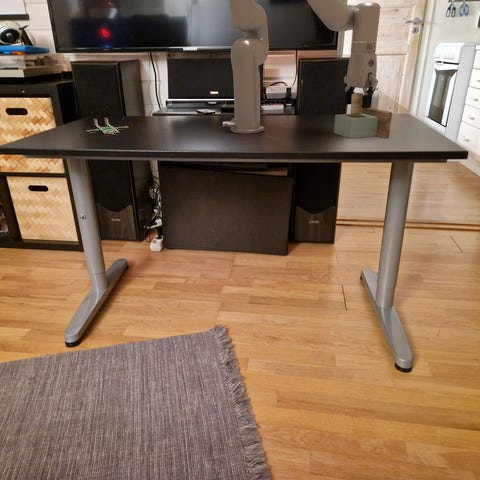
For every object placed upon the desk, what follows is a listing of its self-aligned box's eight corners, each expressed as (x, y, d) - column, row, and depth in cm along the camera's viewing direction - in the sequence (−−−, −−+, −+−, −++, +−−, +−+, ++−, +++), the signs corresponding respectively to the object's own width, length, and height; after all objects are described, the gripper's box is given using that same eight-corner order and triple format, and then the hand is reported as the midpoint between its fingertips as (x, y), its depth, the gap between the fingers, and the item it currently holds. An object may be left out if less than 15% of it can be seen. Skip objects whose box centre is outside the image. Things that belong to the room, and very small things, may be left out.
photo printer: (376, 122, 162) (381, 90, 157) (374, 124, 159) (378, 91, 154) (351, 121, 167) (354, 89, 161) (348, 122, 164) (351, 90, 158)
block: (349, 138, 132) (351, 119, 129) (333, 132, 140) (335, 115, 138) (376, 135, 135) (378, 117, 132) (358, 130, 143) (360, 113, 140)
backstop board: (334, 146, 126) (337, 117, 123) (307, 135, 142) (309, 109, 138) (388, 141, 132) (392, 112, 128) (356, 131, 148) (359, 105, 144)
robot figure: (81, 128, 167) (90, 137, 149) (79, 120, 165) (88, 128, 147) (121, 124, 173) (134, 132, 156) (120, 116, 172) (133, 124, 154)
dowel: (352, 132, 135) (355, 94, 130) (347, 130, 138) (349, 93, 133) (362, 131, 136) (365, 93, 131) (356, 129, 139) (359, 92, 134)
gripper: (391, 48, 120) (383, 108, 127) (357, 48, 134) (352, 102, 142) (369, 49, 117) (362, 110, 125) (337, 49, 132) (333, 103, 140)
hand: (357, 106), depth 133 cm, fingers open, 9 cm apart
